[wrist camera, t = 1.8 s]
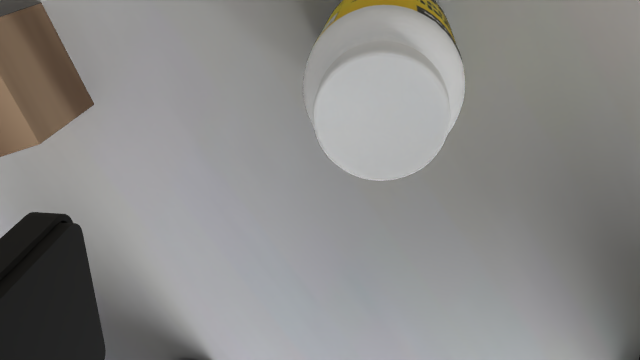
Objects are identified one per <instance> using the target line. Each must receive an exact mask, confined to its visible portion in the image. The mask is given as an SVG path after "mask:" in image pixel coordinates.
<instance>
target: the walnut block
mask: <svg viewBox="0 0 640 360" xmlns="http://www.w3.org/2000/svg"><path fill="white" fill-rule="evenodd" d="M93 105H94V103H93V101H92V99H91V97H90V95H89V94H88V92H87V90H86V88H85V86H84V84H83V82H82V80H81V78H80V76H79V74H78V72H77V71H76V69H75V67H74V65H73V63H72V61H71V59H70V57H69V55H68V53H67V51H66V49H65V47H64V46H63V44H62V42H61V40H60V38H59V36H58V34H57V32H56V30H55V28H54V26H53V24H52V22H51V21H50V19H49V17H48V15H47V13H46V11H45V9H44V7H43V5H42V3H40V4H37V5H34V6H31V7H28V8H25V9H22V10H19V11H16V12H13V13H10V14H7V15H4V16H1V17H0V157H1V156H4V155H7V154H11V153H14V152H17V151H20V150H23V149H26V148H29V147H32V146H35V145H38V144H41V143H42V142H43V141H45V140H46V139H47V138H49V137H50V136H52V135H53V134H54V133H56V132H57V131H58V130H60V129H61V128H62V127H64V126H65V125H67V124H68V123H69V122H71V121H72V120H73V119H75V118H76V117H78V116H79V115H80V114H82V113H83V112H84V111H86V110H87V109H89V108H90V107H91V106H93Z"/></svg>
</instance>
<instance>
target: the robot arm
mask: <svg viewBox="0 0 640 360" xmlns="http://www.w3.org/2000/svg"><path fill="white" fill-rule="evenodd" d="M104 359H105V344H104V339H103V334H102V329H101V324H100V319H99V314H98V309H97V304H96V298H95V293H94V288H93V283H92V278H91V273H90V268H89V263H88V258H87V253H86V248H85V243H84V238H83V233H82V230H81V227H80V226H79V225H78V224H76V223H73V222H72V220H71V218H70V217H69V216H68V215H66V214H55V213H39V212H32V213H29V214H28V215H26V216H25V217H24V218H23V219H22V220H20V221H19V222H18V223H17V224H16V225H15V226H14V227H13V228H12V229H10V230H9V231H8V232H7V233H6V234H5V235H4V236H3V237H2V238H0V360H104ZM639 360H640V357H639Z"/></svg>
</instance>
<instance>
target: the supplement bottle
mask: <svg viewBox="0 0 640 360" xmlns="http://www.w3.org/2000/svg"><path fill="white" fill-rule="evenodd" d="M464 94H465V74H464V67H463V63H462V59H461V55H460V52H459V50H458V48H457V45H456V42H455V40H454V36H453V34H452V31H451V28H450V25H449V23H448V21H447V18H446V16H445V14H444V12H443V11H442V9H441V8H440V7H439V5H438V4H437V3H436V2H435V0H342V1H341V2H340V4H339V5H338V6H337V7H336V9H335V10H334V11H333V13H332V14H331V16H330V18H329V19H328V21H327V23H326V25H325V27H324V28H323V30H322V32H321V34H320V35H319V37H318V39H317V40H316V42H315V44H314V46H313V48H312V50H311V52H310V55H309V57H308V60H307V64H306V67H305V72H304V78H303V97H304V103H305V107H306V111H307V114H308V116H309V119H310V121H311V123H312V125H313V126H314V131H315V134H316V137H317V140H318V142H319V144H320V146H321V148H322V149H323V151H324V152H325V154H326V155H327V156H328V158H329V159H330V160H331V161H332V162H333V163H335V164H336V165H337V166H338V167H340V168H341V169H343V170H344V171H346V172H348V173H350V174H352V175H354V176H357V177H360V178H363V179H367V180H374V181H387V180H395V179H399V178H403V177H406V176H408V175H411V174H413V173H415V172H417V171H419V170H420V169H422V168H423V167H425V166H426V165H427V164H428V163H429V162H430V161H431V160H432V159H433V158H434V157H435V156H436V155H437V153H438V152H439V151H440V149H441V147H442V146H443V144H444V142H445V140H446V137H447V135H448V133H449V132H450V131H451V129H452V127H453V126H454V124H455V122H456V120H457V118H458V116H459V113H460V111H461V107H462V104H463V100H464Z"/></svg>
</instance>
